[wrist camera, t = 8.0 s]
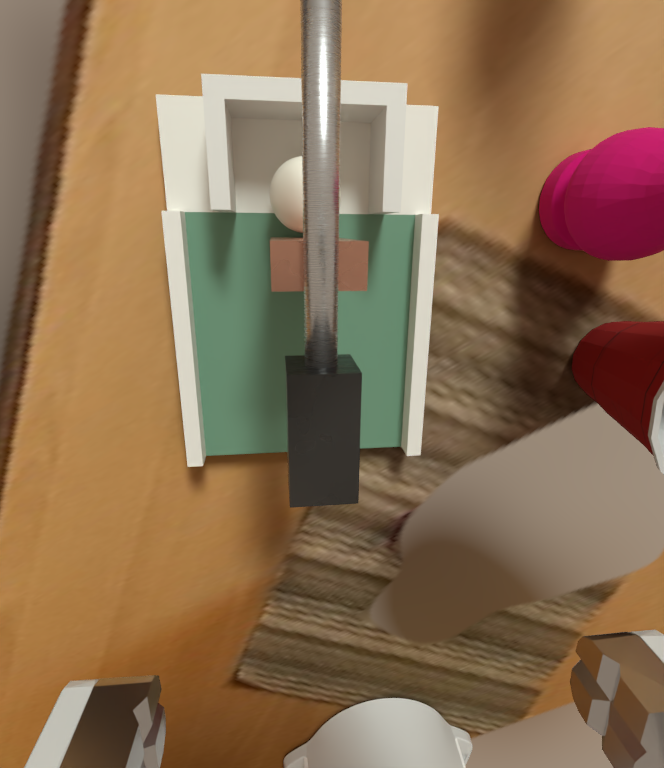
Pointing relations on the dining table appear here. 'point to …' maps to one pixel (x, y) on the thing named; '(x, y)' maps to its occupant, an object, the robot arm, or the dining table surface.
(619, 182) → the pepper mill
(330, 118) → the kicker rod
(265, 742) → the dining table surface
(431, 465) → the dining table surface
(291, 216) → the ball
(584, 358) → the plastic cup
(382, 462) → the dining table surface
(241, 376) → the pitch
